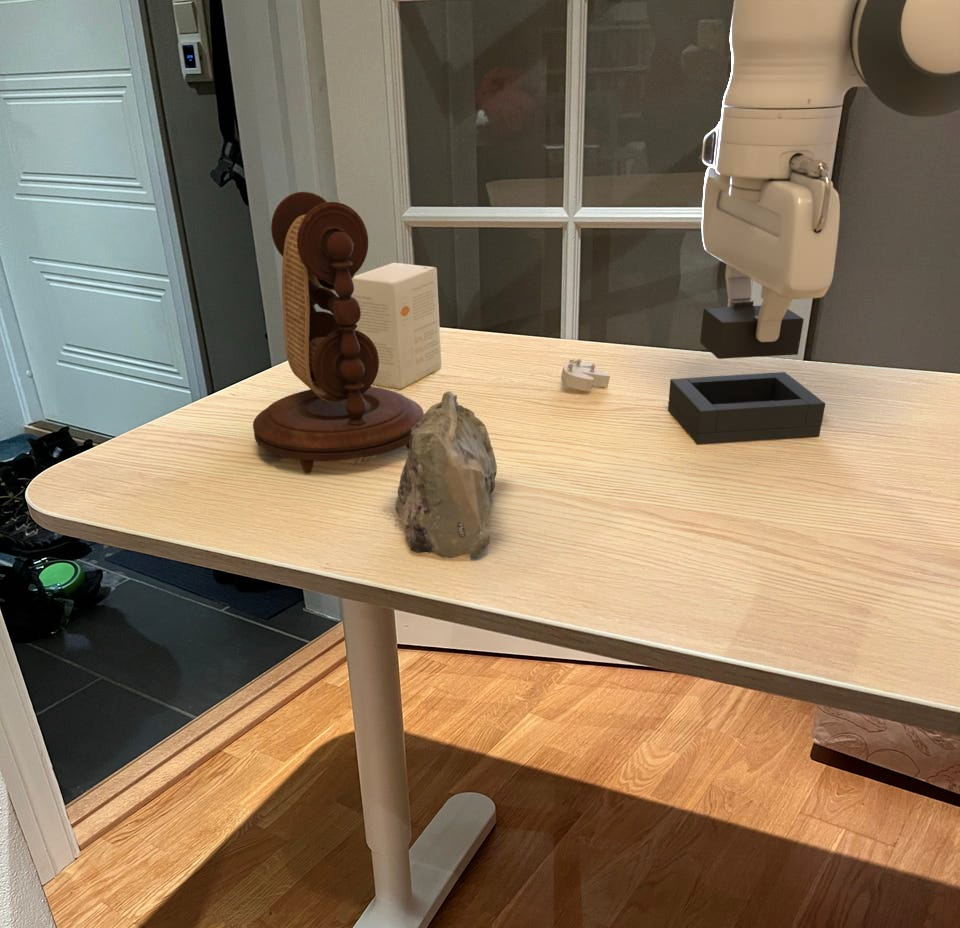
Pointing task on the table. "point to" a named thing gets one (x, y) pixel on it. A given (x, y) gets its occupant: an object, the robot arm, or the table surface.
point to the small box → (400, 321)
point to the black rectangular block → (746, 333)
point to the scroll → (328, 344)
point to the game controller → (581, 375)
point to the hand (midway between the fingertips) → (750, 329)
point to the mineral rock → (447, 482)
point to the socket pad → (745, 408)
